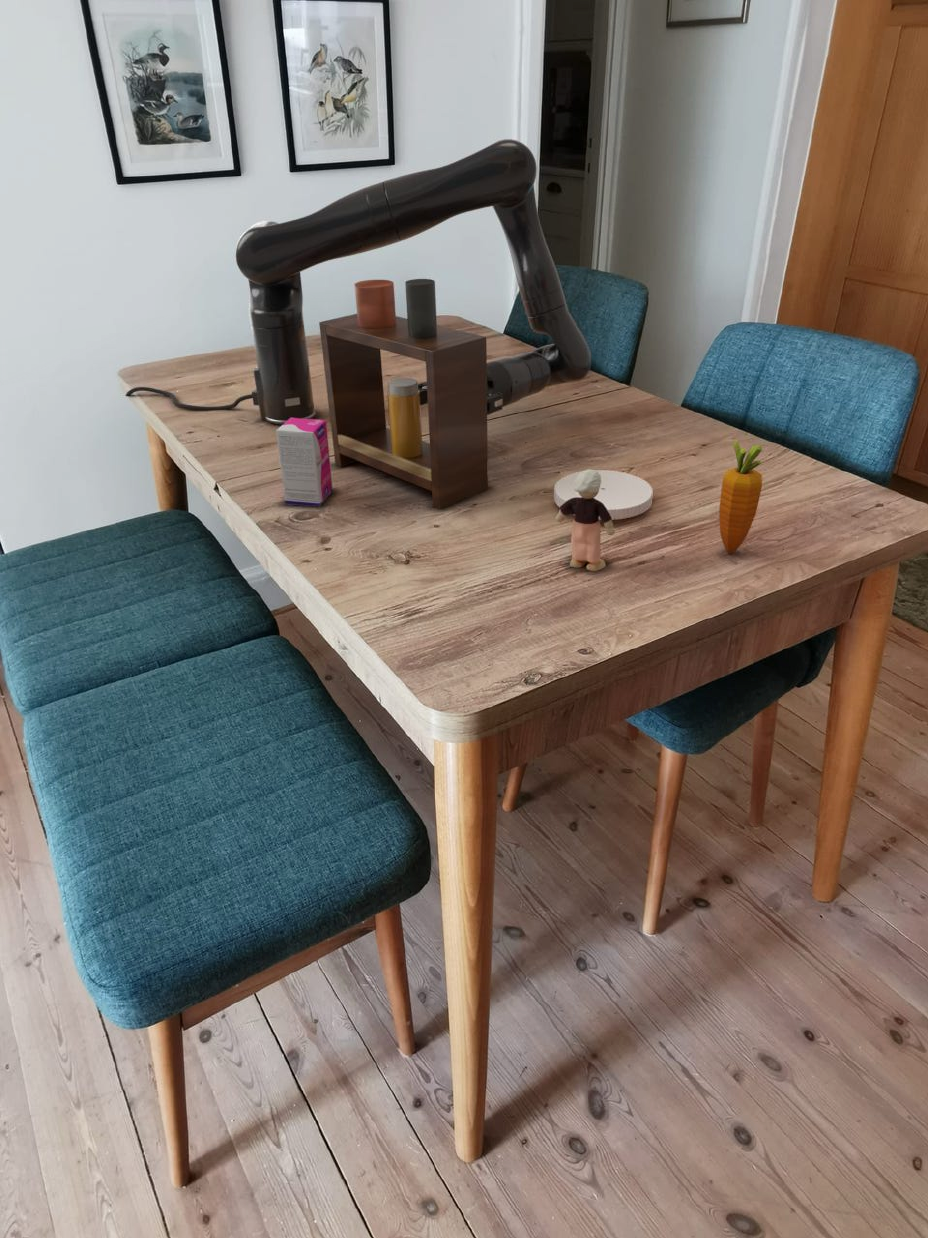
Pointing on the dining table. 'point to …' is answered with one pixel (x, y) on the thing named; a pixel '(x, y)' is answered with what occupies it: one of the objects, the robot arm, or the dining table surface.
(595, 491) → the grandmother figurine
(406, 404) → the shaker
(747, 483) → the carrot
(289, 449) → the supplement box
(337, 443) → the spice rack
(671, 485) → the dining table surface
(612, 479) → the plastic lid
